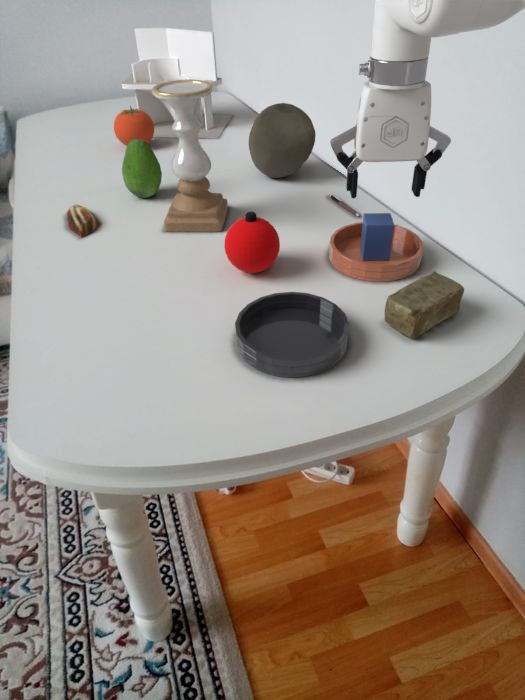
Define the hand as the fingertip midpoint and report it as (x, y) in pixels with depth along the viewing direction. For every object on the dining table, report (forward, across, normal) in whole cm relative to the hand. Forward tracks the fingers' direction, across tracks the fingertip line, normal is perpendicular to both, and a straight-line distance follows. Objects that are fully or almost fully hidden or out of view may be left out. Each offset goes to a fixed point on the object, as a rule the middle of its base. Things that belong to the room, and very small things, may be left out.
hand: (384, 194), depth 81 cm
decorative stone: (+11, -56, +16) cm, 60 cm away
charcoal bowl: (+12, -14, -22) cm, 29 cm away
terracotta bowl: (+11, 0, +1) cm, 11 cm away
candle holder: (+11, -33, +16) cm, 38 cm away
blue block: (+11, 0, +1) cm, 11 cm away
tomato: (+10, -55, +59) cm, 81 cm away
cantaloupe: (+11, -17, +38) cm, 43 cm away
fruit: (+11, -46, +27) cm, 54 cm away
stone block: (+12, +4, -17) cm, 21 cm away
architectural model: (+10, -47, +77) cm, 91 cm away
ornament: (+12, -21, -3) cm, 24 cm away
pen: (+11, -4, +21) cm, 24 cm away
